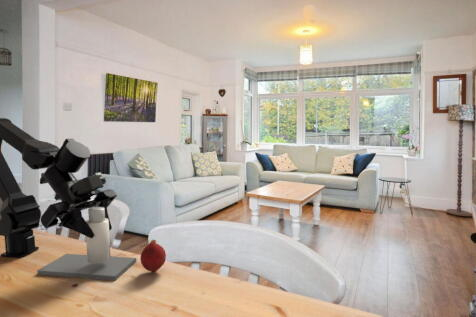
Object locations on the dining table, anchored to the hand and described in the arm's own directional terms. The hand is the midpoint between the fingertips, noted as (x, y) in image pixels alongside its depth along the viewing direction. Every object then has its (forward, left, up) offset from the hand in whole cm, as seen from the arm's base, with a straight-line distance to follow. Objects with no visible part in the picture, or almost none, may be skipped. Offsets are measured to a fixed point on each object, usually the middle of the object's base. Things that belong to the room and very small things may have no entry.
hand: (102, 233), depth 77 cm
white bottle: (-1, 0, -7) cm, 7 cm away
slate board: (-4, 0, -9) cm, 10 cm away
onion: (+13, 0, -9) cm, 16 cm away
